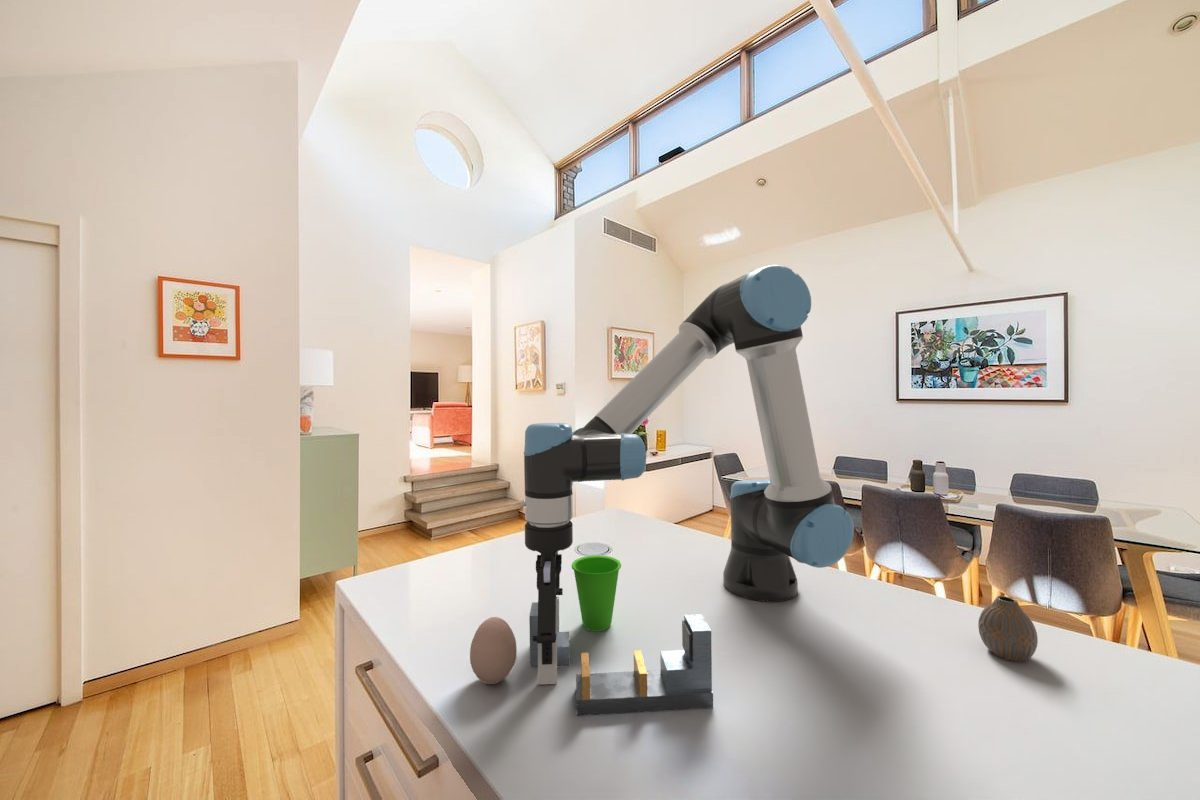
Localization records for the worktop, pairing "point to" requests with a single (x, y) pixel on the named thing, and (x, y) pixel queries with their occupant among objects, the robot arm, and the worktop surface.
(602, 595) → the cup
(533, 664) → the l-shaped step block
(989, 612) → the vase
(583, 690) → the rail
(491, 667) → the egg
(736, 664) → the worktop surface
